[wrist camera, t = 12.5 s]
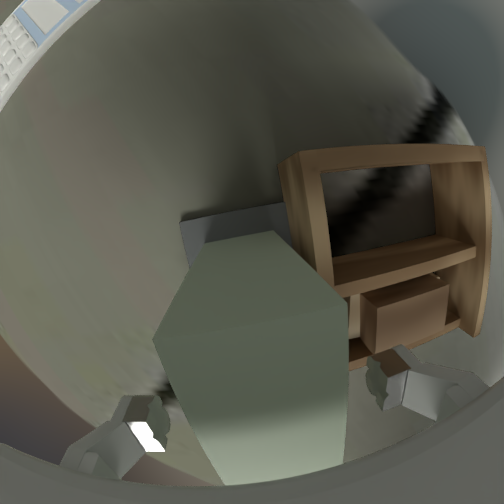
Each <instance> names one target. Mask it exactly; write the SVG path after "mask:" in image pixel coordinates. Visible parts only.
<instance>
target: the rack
mask: <svg viewBox="0 0 504 504" xmlns="http://www.w3.org/2000/svg"><path fill="white" fill-rule="evenodd" d="M422 164H429V165H430V172H431V180H432V188H433V198H434V211H435V230H436V235H432V236H427V237H423V238H419V239H415V240H410V241H406V242H401V243H397V244H393V245H388V246H384V247H379V248H375V249H370V250H366V251H361V252H357V253H352V254H347V255H343V256H338V257H333V258H332V256H331V247H330V238H329V230H328V222H327V215H326V208H325V201H324V195H323V188H322V182H321V176H320V174H322V173H330V172H338V171H347V170H357V169H367V168H378V167H390V166H404V165H422ZM277 166H278V171H279V177H280V182H281V188H282V194H283V200H284V202H285V203H286V209H287V215H288V222H289V228H290V234H291V241H292V247H293V250H294V251H295V252H296V253H297V254H298V255H299V256H300V257H302V258H303V259H304V260H305V261H306V262H307V263H308V264H309V265H310V266H311V267H312V268H313V269H314V270H315V271H316V272H317V273H318V274H319V275H320V276H321V277H322V278H323V279H324V280H325V281H326V282H327V283H328V284H329V285H330V286H331V287H332V288H333V289H334V290H335V291H336V292H337V293H338V294H339V295H340V296H341V297H342V298H344V297H348V296H352V295H356V294H360V293H364V292H367V291H371V290H375V289H378V288H382V287H385V286H389V285H392V284H396V283H399V282H402V281H406V280H409V279H412V278H416V277H419V276H422V275H425V274H428V273H431V272H434V271H436V272H435V275H437V276H439V277H440V280H442V281H444V282H446V283H448V284H450V285H449V296H448V305H447V313H446V320H445V326H444V330H442V331H439V332H437V333H435V334H433V335H430V336H428V337H426V338H423V339H421V340H418V341H416V342H414V343H411V344H409V345H406V346H405V347H406V348H407V349H408V350H409V349H412V348H414V347H417V346H419V345H421V344H424V343H426V342H428V341H430V340H433V339H435V338H437V337H439V336H441V335H443V334H445V333H447V332H449V331H451V330H453V329H455V328H457V327H459V328H460V329H462V330H463V331H465V332H466V333H468V334H469V335H470V336H472V337H473V338H474V337H476V336H477V335H479V334H480V330H481V325H482V320H483V315H484V309H485V303H486V297H487V290H488V282H489V272H490V260H491V239H492V215H491V194H490V181H489V172H488V164H487V158H486V151H485V147H483V146H470V145H452V144H381V145H361V146H346V147H334V148H323V149H314V150H305V151H298V152H297V153H295V154H293V155H292V156H290V157H289V158H287V159H285V160H284V161H282V162H281V163H279V164H278V165H277ZM371 355H373V354H372V352H371V351H370V350H369V349H368V347H367V346H366V345H365V344H364V343H363V341H362V340H361V339H360V337H357V338H352V339H349V371H351V370H354V369H357V368H361V367H364V366H367V365H366V364H367V358H368V356H371Z"/></svg>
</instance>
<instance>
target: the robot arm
mask: <svg viewBox="0 0 504 504" xmlns="http://www.w3.org/2000/svg"><path fill="white" fill-rule="evenodd" d="M366 365H367V366H368V368H369V370H368V371H367V372H366V383H367V387H368V389H369V391H370V393H371V394H372V395H375V396H376V402H377V404H378V405H379V407H380V408H381V410H382V411H386V410H388V409H391V408H393V407H396V406H398V405H401V404H402V406H404V407H406V408H409V409H411V410H413V411H415V412H417V413H419V414H422V415H424V416H426V417H428V418H430V419H433V420H435V421H436V422H435V424H434V425H432V426H430V427H429V428H427V429H425V430H423V431H421V432H419V433H417V434H415V435H413V436H411V437H409V438H407V439H405V440H403V441H401V442H398V443H396V444H394V445H392V446H389V447H387V448H385V449H382V450H380V451H377V452H375V453H372V454H370V455H367V456H364V457H361V458H359V459H356V460H353V461H350V462H347V463H344V464H340V465H337V466H334V467H330V468H327V469H323V470H319V471H316V472H312V473H307V474H303V475H298V476H294V477H289V478H283V479H278V480H271V481H265V482H257V483H249V484H239V485H225V486H166V485H153V484H143V483H134V482H127V481H123V480H122V479H121V478H122V477H123V475H124V474H125V473H126V472H127V471H128V470H129V469H130V468H131V467H132V466H133V465H134V464H135V463H136V462H137V461H138V460H139V459H140V458H141V457H142V456H143V455H144V453H145V452H146V451H165V449H166V444H167V440H168V439H167V437H166V436H165V435H166V434H167V433H168V432H169V431H170V418H169V414H168V412H167V411H166V410H165V409H164V408H162V407H161V405H162V401H161V399H160V397H159V396H157V395H135V396H131V395H124V396H123V397H122V398H121V400H120V402H119V404H118V406H117V408H116V410H115V412H114V414H113V417H112V419H111V421H106V422H105V423H104V424H102V425H101V426H99V427H98V428H96V429H95V430H93V431H92V432H90V433H89V434H87V435H86V436H84V437H83V438H82V439H80V440H78V441H77V442H75V443H74V444H72V445H70V446H69V447H68V449H67V451H66V453H65V455H64V457H63V459H62V461H61V463H60V465H59V466H58V465H55V464H52V463H49V462H46V461H43V460H41V459H38V458H35V457H33V456H30V455H28V454H25V453H23V452H21V451H18V450H16V449H14V448H11V447H10V446H8V445H5V444H1V443H0V504H504V377H503V378H501V379H500V380H499V381H498V382H497V383H495V384H494V385H493V386H491V387H489V386H488V385H486V384H485V383H484V382H483V381H482V380H481V379H480V378H479V377H477V376H476V375H475V374H474V373H472V372H467V371H462V370H457V369H452V368H448V367H443V366H439V365H434V364H430V363H426V362H425V363H423V364H422V363H421V362H420V361H419V360H418V359H417V358H416V357H415V356H414V355H413V354H412V353H411V352H410V351H409V350H408V349H407V348H406V347H405V346H404V345H402V344H399V345H397V346H394V347H392V348H390V349H387V350H385V351H382V352H379V353H376V354H373V355H371V356H368V358H367V364H366Z"/></svg>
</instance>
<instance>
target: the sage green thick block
mask: <svg viewBox="0 0 504 504" xmlns="http://www.w3.org/2000/svg"><path fill="white" fill-rule="evenodd" d="M152 340H153V342H154V345H155V348H156V350H157V353H158V355H159V358H160V360H161V363H162V365H163V368H164V370H165V372H166V375H167V377H168V379H169V382H170V384H171V386H172V388H173V390H174V393H175V395H176V397H177V399H178V401H179V403H180V405H181V408H182V410H183V412H184V414H185V416H186V418H187V420H188V422H189V424H190V426H191V427H192V429H193V431H194V433H195V435H196V437H197V439H198V441H199V442H200V444H201V446H202V448H203V450H204V451H205V453H206V455H207V456H208V458H209V460H210V462H211V463H212V465H213V467H214V468H215V470H216V471H217V473H218V475H219V476H220V478H221V479H222V481H223V483H224V484H225V485H239V484H249V483H257V482H265V481H271V480H278V479H283V478H289V477H294V476H298V475H303V474H307V473H312V472H316V471H319V470H323V469H327V468H330V467H334V466H337V465H340V464H343V455H344V446H345V435H346V421H347V405H348V375H349V337H348V306H347V302H346V301H345V300H344V299H343V298H342V297H341V296H340V295H339V294H338V293H337V292H336V291H335V290H334V289H333V288H332V287H331V286H330V285H329V284H328V283H327V282H326V281H325V280H324V279H323V278H322V277H321V276H320V275H319V274H318V273H317V272H316V271H315V270H314V269H313V268H312V267H311V266H310V265H309V264H308V263H307V262H306V261H305V260H304V259H303V258H302V257H300V256H299V255H298V254H297V253H296V252H295V251H294V250H293V249H292V248H291V247H290V246H289V245H288V244H287V243H286V242H285V241H284V240H283V239H282V238H281V237H280V236H279V235H278V234H277V233H276V232H275V231H273V230H272V231H266V232H261V233H256V234H250V235H245V236H240V237H235V238H230V239H224V240H219V241H214V242H209V243H204V245H203V247H202V248H201V250H200V252H199V254H198V255H197V257H196V259H195V261H194V263H193V264H192V266H191V268H190V270H189V271H188V273H187V275H186V277H185V279H184V281H183V282H182V284H181V286H180V288H179V290H178V292H177V293H176V295H175V297H174V299H173V301H172V303H171V305H170V307H169V308H168V310H167V312H166V314H165V316H164V318H163V320H162V322H161V324H160V326H159V328H158V329H157V331H156V333H155V335H154V337H153V339H152Z"/></svg>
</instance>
